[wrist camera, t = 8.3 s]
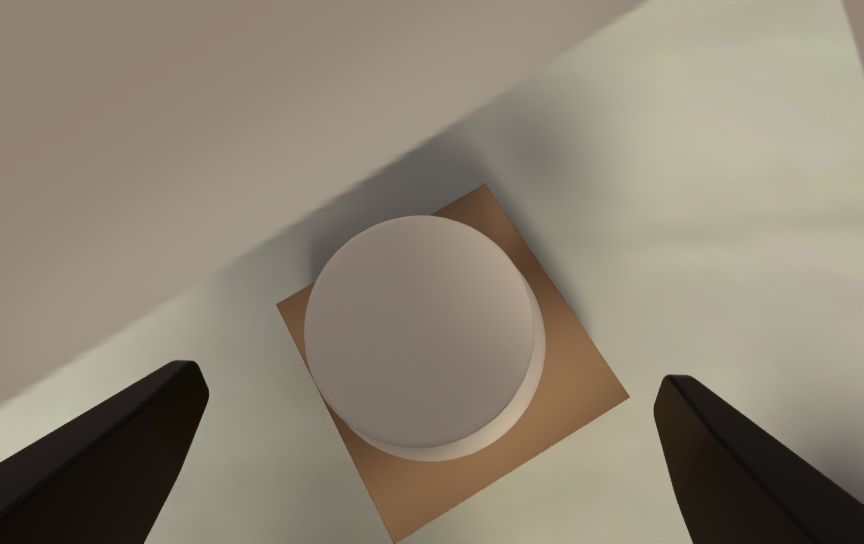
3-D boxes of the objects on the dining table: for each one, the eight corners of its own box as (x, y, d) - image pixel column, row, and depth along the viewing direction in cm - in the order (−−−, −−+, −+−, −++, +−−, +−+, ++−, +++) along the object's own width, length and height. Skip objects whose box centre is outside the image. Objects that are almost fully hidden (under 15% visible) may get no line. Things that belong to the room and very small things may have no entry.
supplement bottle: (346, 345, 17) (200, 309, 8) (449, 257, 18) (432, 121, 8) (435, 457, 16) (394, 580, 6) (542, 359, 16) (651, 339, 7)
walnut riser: (597, 392, 20) (629, 397, 16) (408, 509, 19) (393, 544, 15) (481, 217, 22) (485, 183, 18) (310, 316, 21) (276, 304, 18)
